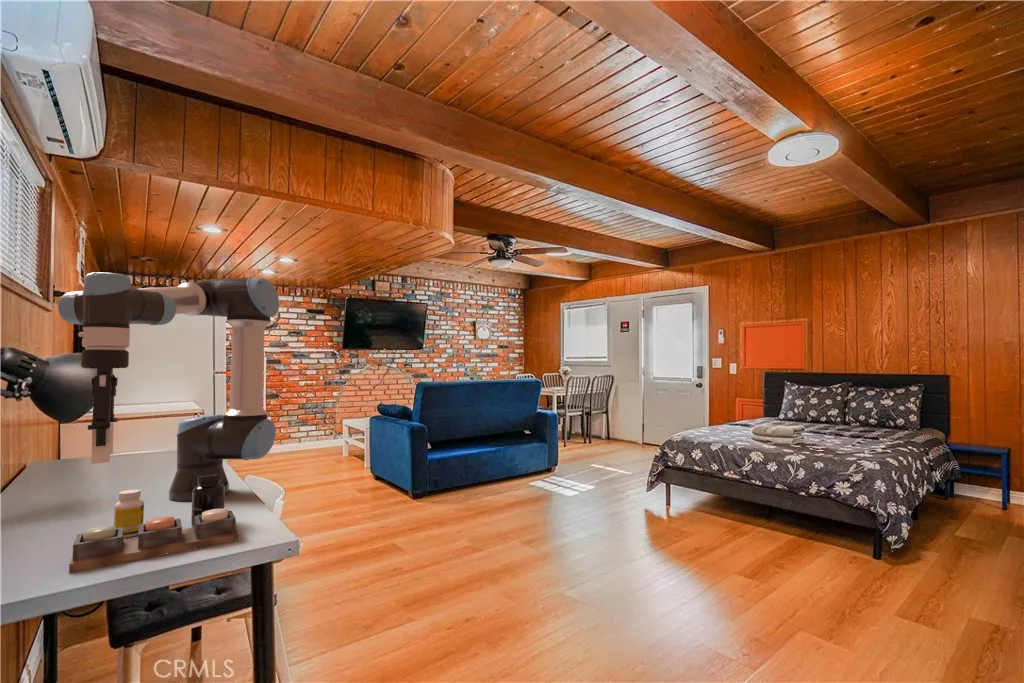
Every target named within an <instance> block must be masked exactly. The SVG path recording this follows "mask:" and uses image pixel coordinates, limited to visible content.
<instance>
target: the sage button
mask: <svg viewBox="0 0 1024 683" xmlns="http://www.w3.org/2000/svg"><path fill="white" fill-rule="evenodd" d="M115 529H116V527H115V526H114V525H100V526H95V527H92V528H88V529H85V530H84V531H83V533H82V534H83V542H88V541H94V540H100V539H106V538H112V537H115Z"/></svg>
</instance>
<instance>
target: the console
mask: <svg viewBox="0 0 1024 683" xmlns="http://www.w3.org/2000/svg"><path fill="white" fill-rule="evenodd" d="M236 521H237V518H236V516H235V514H234V513H233V511H232V510H228V519H223V520H216V521H210V522H204V523H202V515H199V516H194V527H189V528H183V525H182V520H181V517H180V518H175V526H174V528H167V529H161V530H155V531H149V532H146V523H143V524H141V525H139V533H138V535H137V536H133V537H128V538H123V535H124V527H121V528H116V529H115V537H112V538H106V539H100V540H94V541H88V542H83V533H78V534H76V537H75V540H74V541H73V544H72V556H71V559H70V562H69V563H68V566H69V567H68V573H75V572H80V571H85V570H89V569H96V568H102V567H105V566H106V567H107V566H113V565H116V564H121V563H127V562H133V561H138V560H143V559H144V560H145V559H149V558H153V557H154V556H155V557H158V555H160V556H162V555H161V554H165V555H167V554H166V553H171V554H173V553H172V552H176V553H179V552H178V551H181V552H185V551H184V550H187V551H189V550H188V549H192V550H195V549H194V548H197V549H201V548H200V547H203V548H207V547H206V546H208V547H212V546H211V545H213V546H218V545H217V544H219V545H223V544H222V543H224V544H229V543H233V542H232V541H235V542H237V541H236V540H238V541H239V532H238V530H237V529H236V526H237V525H236V523H237V522H236Z"/></svg>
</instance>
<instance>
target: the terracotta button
mask: <svg viewBox="0 0 1024 683" xmlns="http://www.w3.org/2000/svg"><path fill="white" fill-rule="evenodd" d="M175 519H176V517H174V516H160V517H156V518H152V519H148V520H147V521H146V522H145V524H146V532H149V531H155V530H161V529H167V528H174V526H175Z"/></svg>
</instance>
